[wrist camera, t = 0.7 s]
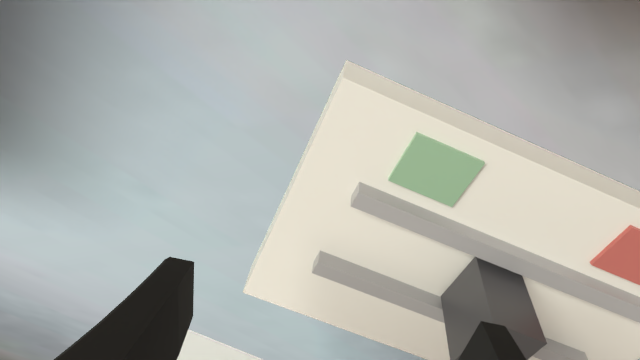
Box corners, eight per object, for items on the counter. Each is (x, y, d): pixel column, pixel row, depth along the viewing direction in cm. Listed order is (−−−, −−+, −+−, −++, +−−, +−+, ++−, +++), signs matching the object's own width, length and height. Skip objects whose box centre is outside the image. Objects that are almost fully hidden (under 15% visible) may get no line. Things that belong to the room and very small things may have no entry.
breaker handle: (521, 274, 20) (546, 343, 17) (483, 312, 22) (500, 382, 19) (475, 255, 20) (493, 322, 17) (440, 296, 22) (450, 363, 19)
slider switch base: (739, 236, 21) (785, 280, 18) (553, 378, 28) (569, 423, 25) (346, 59, 18) (341, 85, 16) (251, 265, 25) (238, 304, 23)
